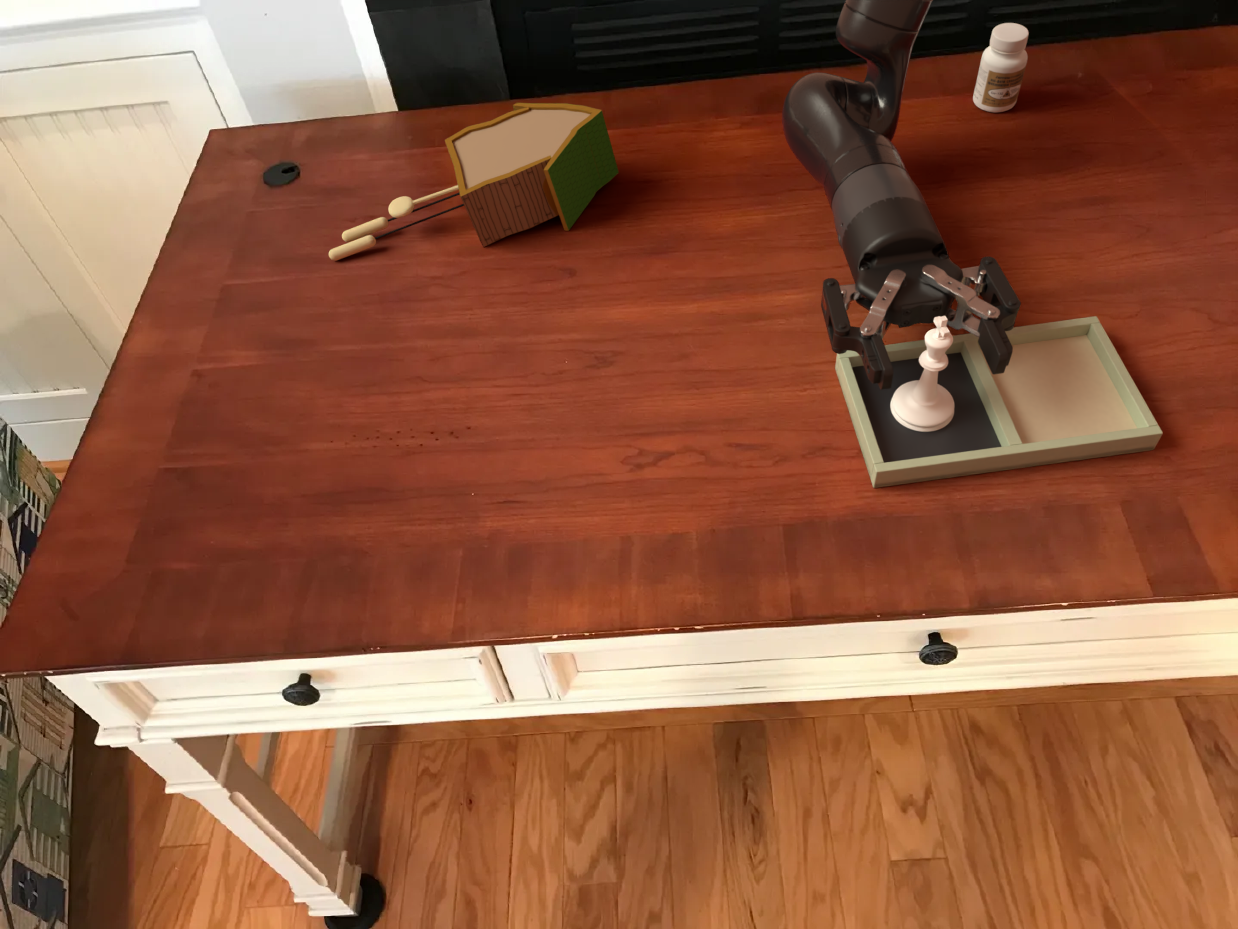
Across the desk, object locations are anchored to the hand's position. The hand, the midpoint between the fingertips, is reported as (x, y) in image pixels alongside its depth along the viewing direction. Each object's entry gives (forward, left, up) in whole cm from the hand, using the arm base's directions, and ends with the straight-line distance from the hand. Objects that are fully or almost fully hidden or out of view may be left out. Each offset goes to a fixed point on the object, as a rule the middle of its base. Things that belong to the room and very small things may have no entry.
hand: (944, 374), depth 72 cm
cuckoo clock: (+36, -35, -7) cm, 51 cm away
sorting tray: (-5, -2, -7) cm, 9 cm away
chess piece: (0, -2, -7) cm, 7 cm away
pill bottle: (-19, -42, -7) cm, 47 cm away
